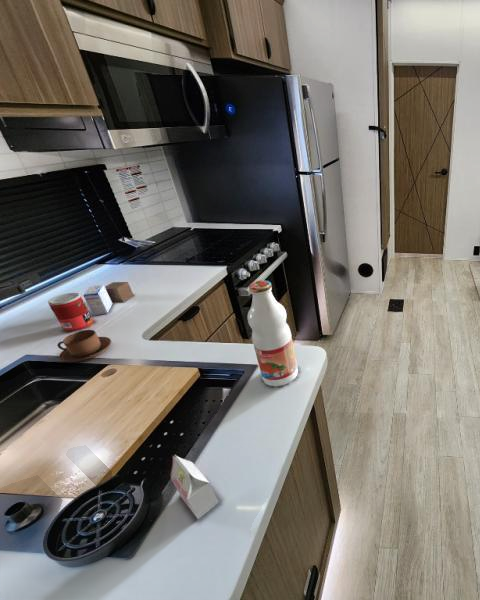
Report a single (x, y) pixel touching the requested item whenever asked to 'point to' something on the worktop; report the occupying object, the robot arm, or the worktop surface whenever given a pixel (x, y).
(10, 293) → the robot arm
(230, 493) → the worktop surface
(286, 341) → the fruit juice
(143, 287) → the worktop surface
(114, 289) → the walnut block
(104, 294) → the medicine box
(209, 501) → the white carton box
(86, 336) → the cup and saucer
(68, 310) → the canned food
